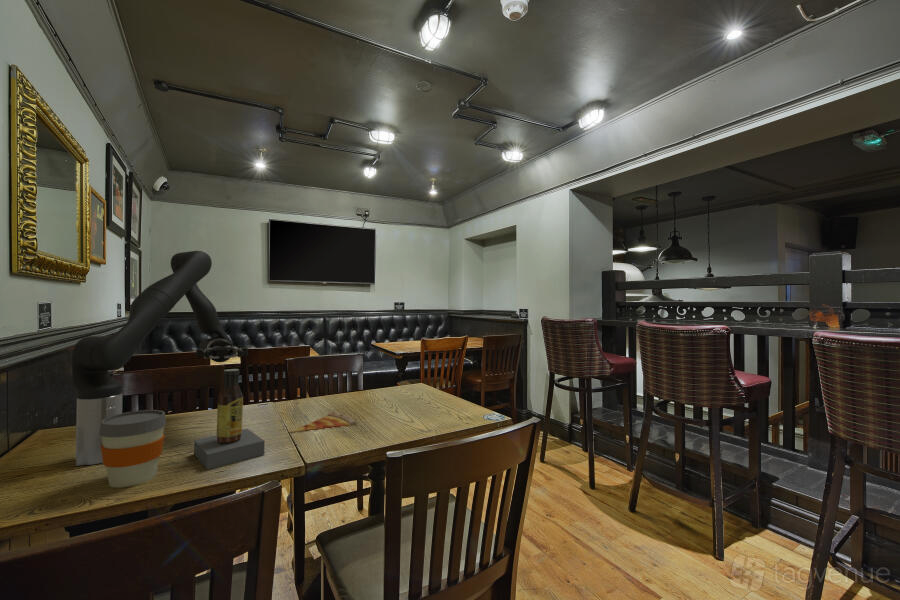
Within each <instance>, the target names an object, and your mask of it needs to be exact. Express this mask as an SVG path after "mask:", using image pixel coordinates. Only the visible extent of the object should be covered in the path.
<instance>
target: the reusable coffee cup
mask: <svg viewBox="0 0 900 600" xmlns="http://www.w3.org/2000/svg"><path fill="white" fill-rule="evenodd" d="M166 425H167V420H166V412H165V411H163V410H159V409H143V410H133V411H127V412H122V413H121V414H117V415H113V416H110V417H107V418H105V419H103V420H102V421H101V426H100V433H99V435H101V436H102V442H103V444H102V445H101V452H102V458H103V466H105V468H106V472H107V479H108V486H109V487H112V488H128V487H132V486H133V487H134V486H137V485H140V484H143V483H146V482H148V481H150V480H152V479H153V478H155V477H156V476H157V473H158V468H159V466H158V465H159V460H160V456H161V455H162V453H163V448H164V441H165V435H166V434H164V430H165V426H166Z"/></svg>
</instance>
